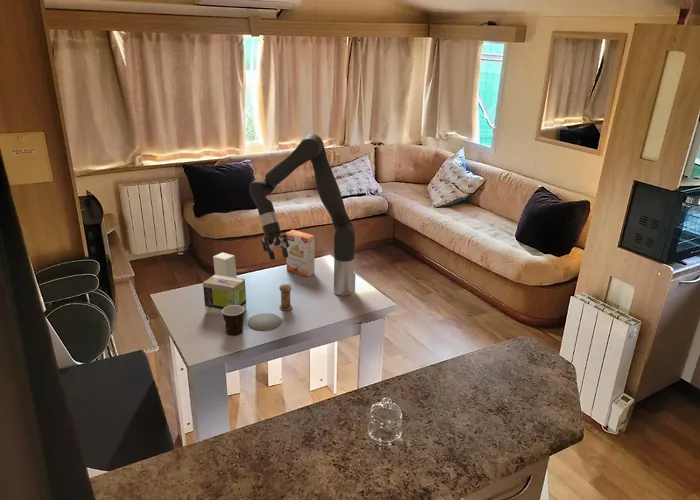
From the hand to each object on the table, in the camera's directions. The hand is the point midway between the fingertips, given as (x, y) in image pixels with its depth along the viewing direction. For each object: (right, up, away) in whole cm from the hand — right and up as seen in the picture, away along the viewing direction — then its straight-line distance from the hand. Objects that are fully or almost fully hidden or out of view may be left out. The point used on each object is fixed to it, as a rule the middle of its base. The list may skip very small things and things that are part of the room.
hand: (279, 258), depth 240 cm
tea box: (-22, -23, -6) cm, 33 cm away
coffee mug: (-16, -30, -23) cm, 41 cm away
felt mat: (-5, -26, -14) cm, 30 cm away
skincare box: (-28, -13, +17) cm, 35 cm away
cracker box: (+6, -8, +34) cm, 35 cm away
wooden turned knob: (+3, -22, -2) cm, 22 cm away
